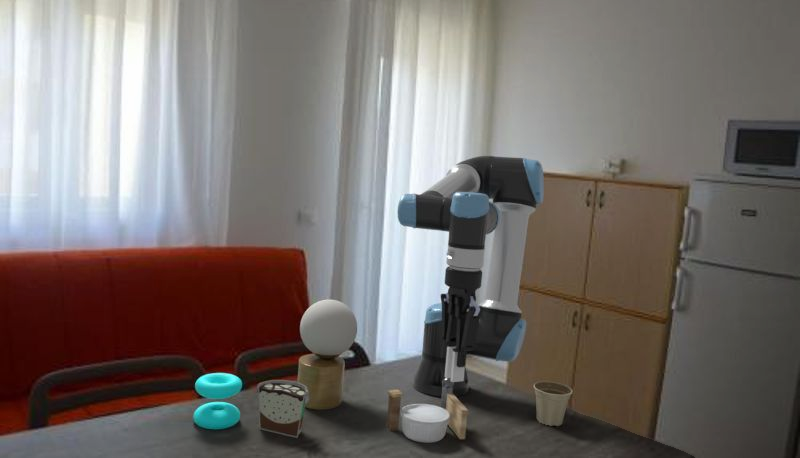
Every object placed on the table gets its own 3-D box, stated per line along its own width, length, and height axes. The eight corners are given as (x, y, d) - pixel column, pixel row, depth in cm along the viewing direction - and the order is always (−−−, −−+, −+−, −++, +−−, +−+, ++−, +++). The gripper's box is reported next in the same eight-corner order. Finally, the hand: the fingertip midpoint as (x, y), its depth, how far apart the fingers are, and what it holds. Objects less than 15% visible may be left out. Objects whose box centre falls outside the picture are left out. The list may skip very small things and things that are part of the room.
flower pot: (569, 432, 158) (573, 397, 157) (529, 426, 160) (533, 391, 159) (568, 417, 167) (571, 384, 166) (530, 412, 169) (533, 379, 168)
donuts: (242, 386, 143) (194, 386, 140) (240, 431, 144) (191, 432, 141) (241, 371, 152) (196, 371, 150) (239, 413, 153) (194, 413, 151)
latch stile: (384, 427, 152) (387, 390, 151) (394, 425, 153) (397, 389, 152) (390, 431, 150) (393, 394, 149) (400, 430, 151) (403, 393, 150)
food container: (316, 429, 148) (319, 385, 147) (303, 439, 142) (306, 394, 141) (267, 418, 152) (270, 375, 151) (253, 427, 146) (256, 383, 145)
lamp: (312, 384, 176) (319, 291, 173) (361, 395, 171) (368, 299, 168) (282, 402, 162) (288, 301, 159) (334, 414, 157) (341, 310, 154)
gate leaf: (444, 420, 157) (446, 393, 156) (449, 420, 157) (452, 393, 156) (459, 439, 147) (462, 410, 146) (465, 438, 147) (468, 410, 146)
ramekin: (416, 420, 158) (418, 399, 157) (457, 435, 151) (459, 412, 151) (388, 434, 148) (390, 411, 148) (430, 450, 142) (433, 426, 141)
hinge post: (431, 418, 159) (435, 375, 158) (447, 416, 162) (450, 373, 160) (441, 425, 156) (445, 381, 154) (457, 423, 158) (461, 379, 157)
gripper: (430, 261, 141) (421, 368, 144) (467, 274, 128) (456, 392, 130) (461, 261, 145) (451, 366, 147) (500, 274, 131) (488, 389, 134)
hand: (453, 378), depth 139 cm, fingers open, 2 cm apart
